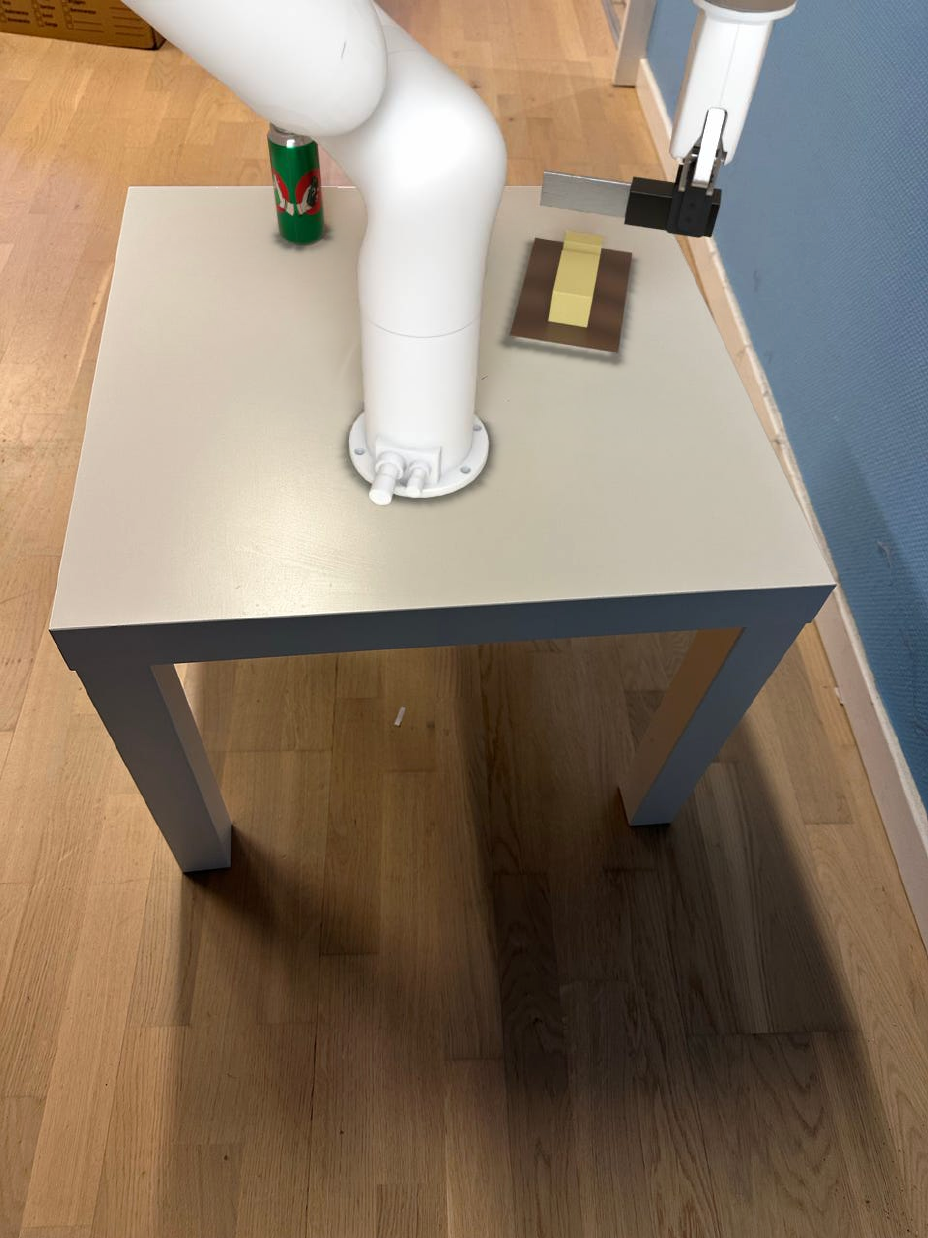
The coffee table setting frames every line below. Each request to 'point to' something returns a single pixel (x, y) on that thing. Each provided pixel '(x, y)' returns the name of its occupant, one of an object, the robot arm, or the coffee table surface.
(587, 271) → the butter block
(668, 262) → the coffee table surface
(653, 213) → the knife
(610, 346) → the board
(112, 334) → the coffee table surface
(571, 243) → the butter pat
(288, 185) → the soda can
